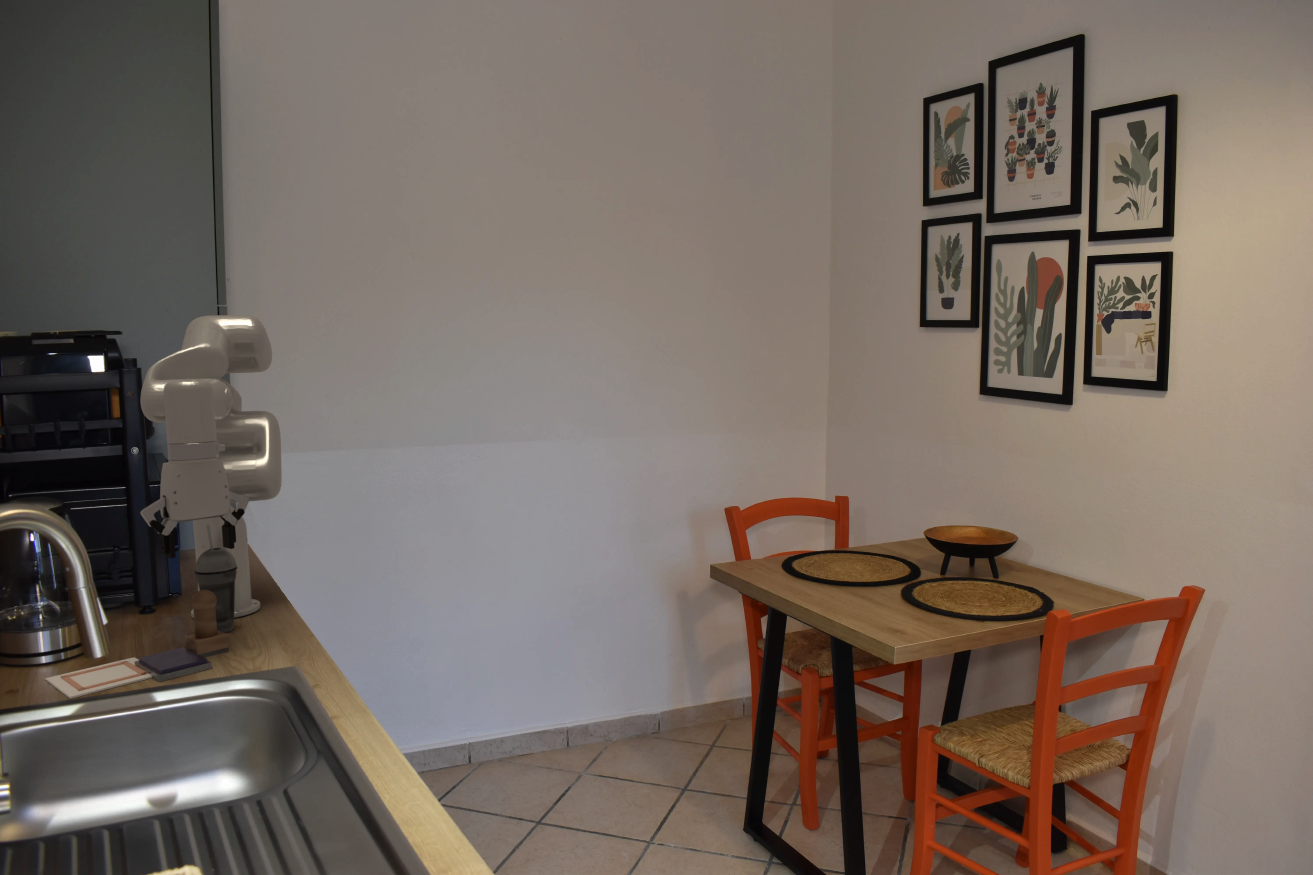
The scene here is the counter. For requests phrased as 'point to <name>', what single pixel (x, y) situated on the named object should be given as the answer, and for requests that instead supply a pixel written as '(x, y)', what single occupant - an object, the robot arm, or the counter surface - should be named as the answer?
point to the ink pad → (173, 664)
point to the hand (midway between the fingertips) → (200, 552)
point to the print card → (98, 678)
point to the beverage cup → (218, 582)
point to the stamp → (206, 627)
